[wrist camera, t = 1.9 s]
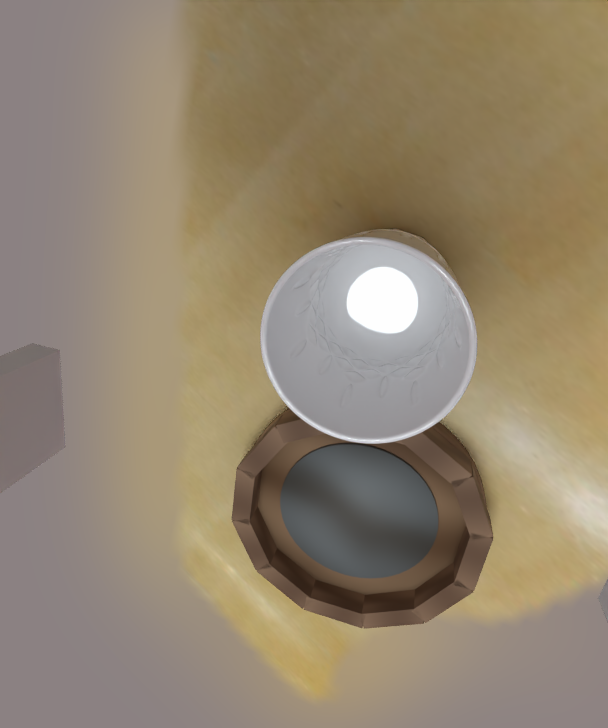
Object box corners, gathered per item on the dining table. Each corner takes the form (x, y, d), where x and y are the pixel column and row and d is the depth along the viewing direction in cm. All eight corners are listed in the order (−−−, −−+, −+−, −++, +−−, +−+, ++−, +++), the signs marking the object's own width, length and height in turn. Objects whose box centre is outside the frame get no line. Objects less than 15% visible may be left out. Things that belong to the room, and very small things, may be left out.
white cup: (301, 330, 29) (239, 400, 20) (342, 196, 25) (290, 206, 16) (428, 378, 28) (425, 474, 19) (487, 244, 25) (518, 282, 15)
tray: (259, 367, 30) (243, 384, 28) (518, 427, 27) (527, 452, 25) (238, 556, 36) (223, 585, 34) (449, 621, 33) (451, 657, 31)
